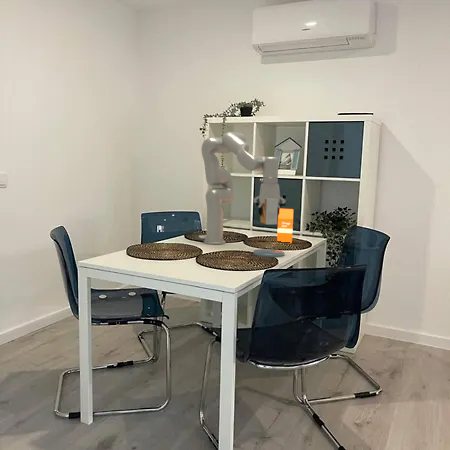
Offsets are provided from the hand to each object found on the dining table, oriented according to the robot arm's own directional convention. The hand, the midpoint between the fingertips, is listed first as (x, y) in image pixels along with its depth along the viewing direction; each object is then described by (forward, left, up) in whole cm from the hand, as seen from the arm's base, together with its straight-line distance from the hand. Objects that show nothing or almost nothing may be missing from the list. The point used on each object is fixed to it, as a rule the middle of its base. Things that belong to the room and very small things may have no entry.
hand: (268, 215), depth 243 cm
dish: (+1, 0, -20) cm, 20 cm away
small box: (0, 0, -4) cm, 4 cm away
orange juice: (+11, +41, -20) cm, 47 cm away
